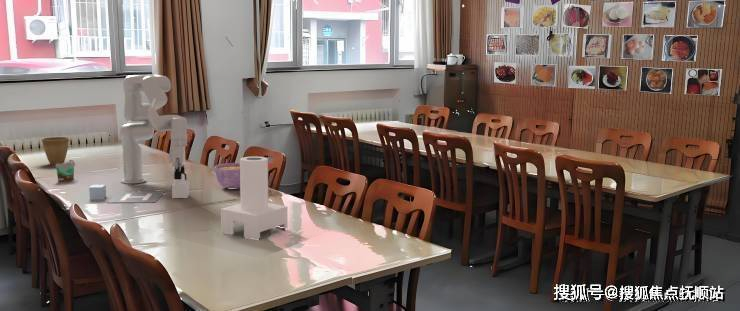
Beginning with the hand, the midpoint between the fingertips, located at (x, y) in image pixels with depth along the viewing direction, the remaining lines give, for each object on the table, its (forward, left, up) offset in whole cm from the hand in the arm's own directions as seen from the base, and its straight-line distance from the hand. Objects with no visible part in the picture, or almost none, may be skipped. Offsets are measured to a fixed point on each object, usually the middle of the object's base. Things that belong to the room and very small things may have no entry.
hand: (179, 177), depth 322 cm
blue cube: (+1, -39, -10) cm, 40 cm away
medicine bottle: (0, 0, -10) cm, 10 cm away
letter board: (+1, -21, -10) cm, 23 cm away
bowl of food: (-19, +24, -10) cm, 33 cm away
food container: (-42, -66, -10) cm, 79 cm away
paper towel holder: (+63, +39, -10) cm, 75 cm away
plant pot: (-90, -88, -10) cm, 126 cm away
